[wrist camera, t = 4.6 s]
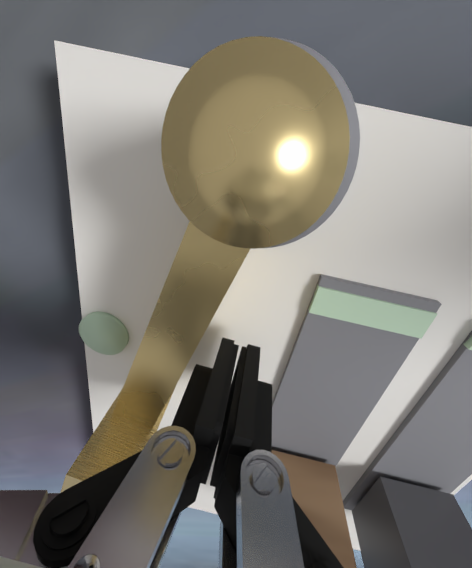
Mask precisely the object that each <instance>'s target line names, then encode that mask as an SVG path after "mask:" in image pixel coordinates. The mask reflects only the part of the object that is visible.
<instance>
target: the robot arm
mask: <svg viewBox="0 0 472 568" xmlns="http://www.w3.org/2000/svg"><path fill="white" fill-rule="evenodd" d="M234 342H235V340H231V339H227V338H223V337H222V340H221V344H220V347H219V350H218V353H217V357H216V360H215V363H214V366H213V368H209V367H206V366H202V365H198V364H196V365H195V367H194V370H193V372H192V375H191V377H190V380H189V382H188V385H187V387H186V390H185V392H184V395H183V397H182V400H181V402H180V405H179V407H178V410H177V412H176V415H175V417H174V420H173V422H172V425H171V426H167V427H164V428H161V429H160V430H158V431H157V432H155V433H154V434H153V435H152V437H151V438H150V439H149V441H148V442H147V444H146V445H145V447H144V448H143V450H142V451H140V452H138V453H136V454H134V455H132V456H130V457H128V458H126V459H124V460H122V461H121V462H119V463H117V464H115V465H113V466H111V467H109V468H107V469H105V470H103V471H101V472H99V473H97V474H95V475H93V476H91V477H89V478H87V479H85V480H84V481H82V482H80V483H78V484H76V485H74V486H72V487H70V488H68V489H66V490H64V491H63V492H61V493H47V490H0V568H159V567H160V564H161V562H162V559H163V557H164V554H165V552H166V549H167V547H168V544H169V542H170V539H171V537H172V534H173V532H174V530H175V527H176V525H177V522H178V520H179V517H180V515H181V511H183V510H184V509H185V508H187V507H188V506H190V505H191V504H192V503H194V502H195V501H196V497H197V494H198V490H199V487H200V483H202V484H205V485H206V482H207V479H208V475H209V472H210V468H211V465H212V462H213V458H214V455H215V451H216V448H217V452H216V457H215V462H214V467H213V472H212V476H211V481H210V486H213V487H215V492H214V497H213V498H215V503H214V507H215V509H216V511H217V513H218V515H219V517H220V519H221V522H220V541H219V568H344V567H343V566H342V565H341V563H340V562H339V560H338V559H337V558H336V556H335V555H334V554H333V552H332V551H331V549H330V548H329V547H328V545H327V544H326V542H325V541H324V540H323V538H322V537H321V535H320V534H319V533H318V531H317V530H316V529H315V527H314V526H313V524H312V523H311V522H310V520H309V519H308V517H307V516H306V515H305V513H304V512H303V511H302V509H301V508H300V506H299V505H298V504H297V502H296V501H295V499H294V498H293V497H292V493H291V487H290V481H289V477H288V473H287V470H286V468H285V466H284V465H283V463H282V461H281V460H280V459H279V458H278V457H277V456H276V455H274V454H273V453H271V452H272V384H269V383H266V382H262V381H258V374H259V362H260V349H261V348H260V347H258V346H254V345H250V344H248V345H247V347H244V346H242V348H241V351H240V355H239V358H238V362H237V365H236V369H235V372H234V367H235V362H236V357H237V352H238V348H239V345H236V344H234ZM233 372H234V376H233ZM232 377H233V379H232ZM231 382H232V383H231ZM218 441H219V442H218ZM217 445H218V447H217Z"/></svg>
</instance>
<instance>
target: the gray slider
mask: <svg viewBox="0 0 472 568" xmlns="http://www.w3.org/2000/svg"><path fill="white" fill-rule="evenodd" d="M352 515H353V519H354V524H355V528H356V532H357V537H358V541H359V546H360V550H361V554H362V559H363V563H364V568H472V529H471V527H470V525H469V523H468V521H467V520H466V518H465V516H464V514H463V512H462V510H461V508H460V507H459V505H458V503H457V501H456V499H455V497H454V496H453V494H449V493H445V492H441V491H437V490H433V489H429V488H425V487H421V486H417V485H412V484H408V483H404V482H400V481H396V480H392V479H388V478H384V477H379V479H378V480H377V481H376V482H375V483H374V485H373V486H372V487H371V488H370V490H369V491H368V492H367V493H366V494H365V496H364V497H363V498H362V499H361V501H360V502H359V503H358V504H357V505H356V507H355V508H354V509H353V510H352Z"/></svg>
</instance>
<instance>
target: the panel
mask: <svg viewBox="0 0 472 568" xmlns="http://www.w3.org/2000/svg"><path fill="white" fill-rule="evenodd" d="M277 39H280V40H284V41H287V42H290V43H292V44H294V45H296V46H298V47H300V48H302V49H303V50H305V51H306V52H308V53H309V54H310V55H312V56H313V57H314V58H315V59H316V60H317V61H318V62H319V63H320V64H321V65H322V66H323V67H324V68H325V69H326V70H327V72H328V73H329V75H330V76H331V77H332V79H333V80H334V82H335V84H336V86H337V88H338V90H339V92H340V93H341V96H342V99H343V102H344V105H345V108H346V112H347V117H348V122H349V134H350V143H349V155H348V161H347V167H346V170H345V173H344V177H343V180H342V182H341V185H340V187H339V189H338V192H337V194H336V195H335V197H334V199H333V201H332V202H331V204H330V205H329V207H328V208H327V209H326V211H325V212H324V213H323V215H322V216H321V217H320V218H319V219H318V220H317V221H316V222H315V223H314V224H313V225H312V226H310V227H309V228H308V229H307V230H306V231H304V232H303V233H301V234H300V235H298V236H296V237H295V238H293V239H291V240H289V241H287V242H284V243H281V244H278V245H275V246H271V247H266V248H256V249H250V250H249V252H248V254H247V256H246V258H245V260H244V261H243V263H242V265H241V267H240V269H239V271H238V272H237V274H236V276H235V278H234V280H233V282H232V283H231V285H230V287H229V289H228V291H227V293H226V294H225V296H224V298H223V300H222V302H221V304H220V305H219V307H218V309H217V311H216V313H215V315H214V316H213V318H212V320H211V322H210V324H209V326H208V327H207V329H206V331H205V333H204V335H203V337H202V338H201V340H200V342H199V344H198V346H197V348H196V349H195V351H194V353H193V355H192V357H191V359H190V360H189V362H188V364H187V366H186V368H185V370H184V371H183V373H182V375H181V377H180V379H179V381H178V382H177V384H176V387H175V389H174V392H173V394H172V396H171V399H170V401H169V403H168V406H167V408H166V410H165V413H164V415H163V418H162V420H161V422H160V425H159V427H158V429H157V431H158V430H160V429H161V428H164V427H167V426H171V425H172V422H173V420H174V417H175V415H176V412H177V410H178V407H179V405H180V402H181V400H182V397H183V395H184V392H185V390H186V387H187V385H188V382H189V380H190V377H191V375H192V372H193V370H194V367H195V365H196V364H198V365H202V366H206V367H209V368H213V366H214V363H215V360H216V357H217V353H218V350H219V347H220V344H221V340H222V337H223V338H227V339H231V340H235V342H234V344H236V345H239V348H238V352H237V357H236V362H235V367H234V372H235V369H236V365H237V362H238V358H239V355H240V351H241V348H242V346H244V347H247V345H248V344H250V345H254V346H258V347H260V348H261V349H260V362H259V374H258V381H262V382H266V383H269V384H272V450H274V451H278V452H282V453H286V454H291V455H295V456H299V457H303V458H307V459H311V460H315V461H319V462H323V463H327V464H331V465H335V467H336V472H337V476H338V481H339V486H340V491H341V496H342V500H343V505H344V510H345V515H346V520H347V524H348V529H349V534H350V539H351V544H352V548H353V549H355V550H359V551H361V550H360V546H359V541H358V537H357V532H356V528H355V524H354V519H353V515H352V510H353V509H354V508H355V507H356V505H357V504H358V503H359V502H360V501H361V499H362V498H363V497H364V496H365V494H366V493H367V492H368V491H369V490H370V488H371V487H372V486H373V485H374V483H375V482H376V481H377V480H378V479H379V477H384V478H388V479H392V480H396V481H400V482H404V483H408V484H412V485H417V486H421V487H425V488H429V489H433V490H437V491H441V492H445V493H449V494H453V496H454V495H455V494H456V493H457V492H458V491H459V490H460V489H462V488H463V487H464V486H465V485H466V484H467V483H468V482H469V481H471V480H472V127H469V126H464V125H459V124H455V123H450V122H445V121H440V120H435V119H431V118H426V117H421V116H416V115H411V114H406V113H402V112H397V111H392V110H387V109H382V108H377V107H373V106H368V105H363V104H358V103H354V100H353V97H352V94H351V92H350V90H349V88H348V86H347V84H346V83H345V81H344V79H343V78H342V76H341V75H340V74H339V72H338V71H337V69H336V68H335V67H334V66H333V65H332V64H331V63H330V62H329V61H328V60H327V59H326V58H325V57H323V56H322V55H320V54H319V53H318V52H316V51H315V50H313V49H311V48H309V47H307V46H305V45H303V44H301V43H298V42H295V41H292V40H288V39H281V38H277ZM54 42H55V52H56V62H57V72H58V82H59V92H60V102H61V112H62V123H63V133H64V143H65V153H66V163H67V173H68V183H69V193H70V203H71V213H72V223H73V233H74V243H75V253H76V263H77V273H78V283H79V294H80V304H81V314H82V320H81V322H80V324H79V334H80V336H81V338H82V340H83V341H84V344H85V354H86V364H87V374H88V384H89V394H90V404H91V414H92V424H93V433H94V431H95V430H96V428H97V427H98V425H99V424H100V422H101V421H102V419H103V418H104V416H105V414H106V413H107V411H108V410H109V408H110V407H111V405H112V404H113V402H114V401H115V399H116V398H117V396H118V395H119V393H120V391H121V390H122V388H123V386H124V384H125V381H126V379H127V376H128V374H129V371H130V369H131V366H132V364H133V361H134V359H135V356H136V354H137V351H138V349H139V346H140V344H141V341H142V339H143V336H144V334H145V331H146V329H147V326H148V324H149V321H150V319H151V316H152V314H153V311H154V309H155V306H156V304H157V301H158V299H159V296H160V294H161V291H162V289H163V286H164V284H165V281H166V279H167V276H168V274H169V271H170V269H171V266H172V264H173V261H174V259H175V256H176V254H177V251H178V249H179V246H180V244H181V241H182V239H183V236H184V234H185V231H186V229H187V226H188V224H189V220H188V219H187V217H186V216H185V215H184V214H183V212H182V211H181V210H180V208H179V206H178V205H177V203H176V202H175V200H174V198H173V196H172V194H171V192H170V189H169V187H168V184H167V181H166V178H165V174H164V169H163V164H162V155H161V137H162V128H163V123H164V118H165V114H166V111H167V108H168V105H169V102H170V99H171V97H172V95H173V93H174V91H175V89H176V87H177V86H178V84H179V83H180V81H181V80H182V78H183V77H184V75H185V74H186V73H187V72H188V70H189V68H184V67H180V66H175V65H170V64H165V63H160V62H156V61H151V60H146V59H141V58H136V57H131V56H127V55H122V54H117V53H112V52H107V51H102V50H98V49H93V48H88V47H83V46H78V45H74V44H69V43H64V42H59V41H54ZM234 372H233V376H234ZM232 379H233V377H232ZM231 383H232V382H231ZM218 442H219V441H218ZM217 447H218V445H217ZM216 452H217V448H216V451H215V455H214V458H213V462H212V465H211V468H210V472H209V475H208V479H207V482H206V485H205V484H202V483H200V487H199V490H198V494H197V497H196V501H195V502H194V503H192V504H191V505H190V506H188V507H190V508H194V509H198V510H202V511H206V512H210V513H214V514H218V513H217V511H216V509H215V507H214V503H215V498H213V497H214V492H215V487H213V486H210V481H211V476H212V472H213V467H214V462H215V457H216Z"/></svg>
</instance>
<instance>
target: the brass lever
mask: <svg viewBox="0 0 472 568" xmlns="http://www.w3.org/2000/svg"><path fill="white" fill-rule="evenodd" d="M349 143H350V134H349V122H348V117H347V112H346V108H345V105H344V102H343V99H342V96H341V93H340V92H339V90H338V88H337V86H336V84H335V82H334V80H333V79H332V77H331V76H330V75H329V73H328V72H327V70H326V69H325V68H324V67H323V66H322V65H321V64H320V63H319V62H318V61H317V60H316V59H315V58H314V57H313V56H312V55H310V54H309V53H308V52H306V51H305V50H303V49H302V48H300V47H298V46H296V45H294V44H292V43H290V42H287V41H284V40H280V39H277V38H271V37H262V36H258V37H245V38H241V39H236V40H232V41H230V42H227V43H225V44H222V45H220V46H218V47H216V48H215V49H213V50H211V51H210V52H208V53H207V54H205V55H204V56H203V57H202V58H201V59H199V60H198V61H197V62H196V63H195V64H194V65H193V66H192V67H191V68H190V69H189V70H188V72H187V73H186V74H185V75H184V77H183V78H182V80H181V81H180V83H179V84H178V86H177V87H176V89H175V91H174V93H173V95H172V97H171V99H170V102H169V105H168V108H167V111H166V114H165V118H164V123H163V128H162V137H161V155H162V164H163V169H164V174H165V178H166V181H167V184H168V187H169V189H170V192H171V194H172V196H173V198H174V200H175V202H176V203H177V205H178V206H179V208H180V210H181V211H182V212H183V214H184V215H185V216H186V217H187V219H188V220H189V224H188V226H187V229H186V231H185V234H184V236H183V239H182V241H181V244H180V246H179V249H178V251H177V254H176V256H175V259H174V261H173V264H172V266H171V269H170V271H169V274H168V276H167V279H166V281H165V284H164V286H163V289H162V291H161V294H160V296H159V299H158V301H157V304H156V306H155V309H154V311H153V314H152V316H151V319H150V321H149V324H148V326H147V329H146V331H145V334H144V336H143V339H142V341H141V344H140V346H139V349H138V351H137V354H136V356H135V359H134V361H133V364H132V366H131V369H130V371H129V374H128V376H127V379H126V381H125V384H124V386H123V388H122V390H121V391H120V393H119V395H118V396H117V398H116V399H115V401H114V402H113V404H112V405H111V407H110V408H109V410H108V411H107V413H106V414H105V416H104V418H103V419H102V421H101V422H100V424H99V425H98V427H97V428H96V430H95V431H94V433H93V434H92V436H91V437H90V439H89V441H88V442H87V444H86V445H85V447H84V448H83V450H82V451H81V453H80V454H79V456H78V457H77V459H76V460H75V462H74V464H73V465H72V467H71V468H70V470H69V471H68V473H67V474H66V477H65V480H64V483H63V486H62V490H61V492H63V491H64V490H66V489H68V488H70V487H72V486H74V485H76V484H78V483H80V482H82V481H84V480H85V479H87V478H89V477H91V476H93V475H95V474H97V473H99V472H101V471H103V470H105V469H107V468H109V467H111V466H113V465H115V464H117V463H119V462H121V461H122V460H124V459H126V458H128V457H130V456H132V455H134V454H136V453H138V452H140V451H142V450H143V448H144V447H145V445H146V444H147V442H148V441H149V439H150V438H151V437H152V435H153V434H154V433H155V432H157V429H158V427H159V425H160V422H161V420H162V418H163V415H164V413H165V410H166V408H167V406H168V403H169V401H170V399H171V396H172V394H173V392H174V389H175V387H176V384H177V382H178V381H179V379H180V377H181V375H182V373H183V371H184V370H185V368H186V366H187V364H188V362H189V360H190V359H191V357H192V355H193V353H194V351H195V349H196V348H197V346H198V344H199V342H200V340H201V338H202V337H203V335H204V333H205V331H206V329H207V327H208V326H209V324H210V322H211V320H212V318H213V316H214V315H215V313H216V311H217V309H218V307H219V305H220V304H221V302H222V300H223V298H224V296H225V294H226V293H227V291H228V289H229V287H230V285H231V283H232V282H233V280H234V278H235V276H236V274H237V272H238V271H239V269H240V267H241V265H242V263H243V261H244V260H245V258H246V256H247V254H248V252H249V250H250V249H256V248H266V247H271V246H275V245H278V244H281V243H284V242H287V241H289V240H291V239H293V238H295V237H296V236H298V235H300V234H301V233H303V232H304V231H306V230H307V229H308V228H309V227H310V226H312V225H313V224H314V223H315V222H316V221H317V220H318V219H319V218H320V217H321V216H322V215H323V213H324V212H325V211H326V209H327V208H328V207H329V205H330V204H331V202H332V201H333V199H334V197H335V195H336V194H337V192H338V189H339V187H340V185H341V182H342V180H343V177H344V173H345V170H346V167H347V161H348V155H349Z"/></svg>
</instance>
